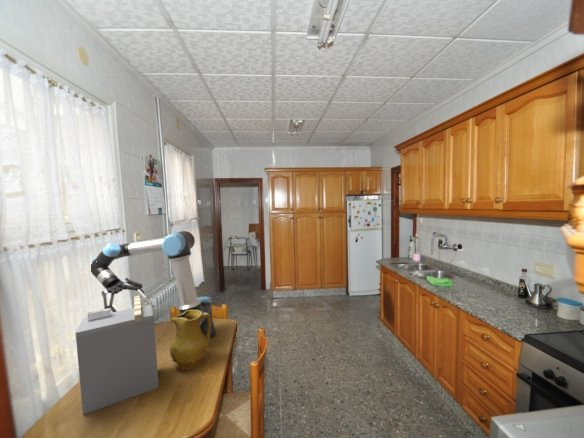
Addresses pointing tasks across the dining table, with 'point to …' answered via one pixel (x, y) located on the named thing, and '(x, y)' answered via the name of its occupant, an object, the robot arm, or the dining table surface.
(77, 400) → the dining table surface
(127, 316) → the stand
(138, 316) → the rod
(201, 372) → the dining table surface
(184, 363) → the pitcher
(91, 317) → the ridge
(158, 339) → the dining table surface
